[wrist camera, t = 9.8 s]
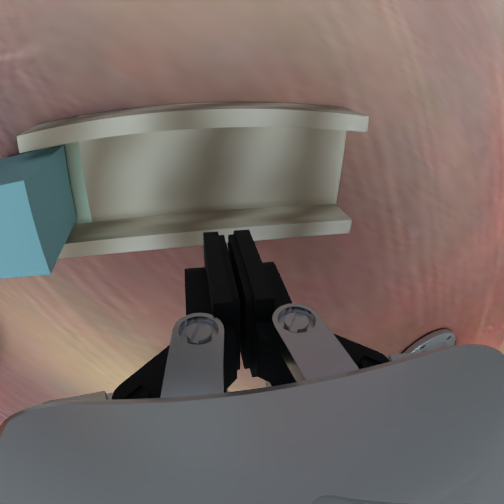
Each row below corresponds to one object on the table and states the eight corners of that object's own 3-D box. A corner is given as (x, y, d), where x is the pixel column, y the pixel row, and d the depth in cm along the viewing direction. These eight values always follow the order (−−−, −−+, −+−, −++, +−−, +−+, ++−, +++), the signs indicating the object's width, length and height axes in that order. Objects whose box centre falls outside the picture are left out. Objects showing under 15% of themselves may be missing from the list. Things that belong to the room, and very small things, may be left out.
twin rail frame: (343, 107, 20) (368, 116, 17) (329, 211, 24) (349, 233, 21) (38, 124, 15) (16, 136, 13) (59, 233, 20) (46, 259, 17)
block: (63, 145, 16) (23, 180, 11) (77, 219, 18) (50, 274, 14) (-1, 159, 15) (-50, 197, 10) (16, 227, 17) (-20, 280, 13)
